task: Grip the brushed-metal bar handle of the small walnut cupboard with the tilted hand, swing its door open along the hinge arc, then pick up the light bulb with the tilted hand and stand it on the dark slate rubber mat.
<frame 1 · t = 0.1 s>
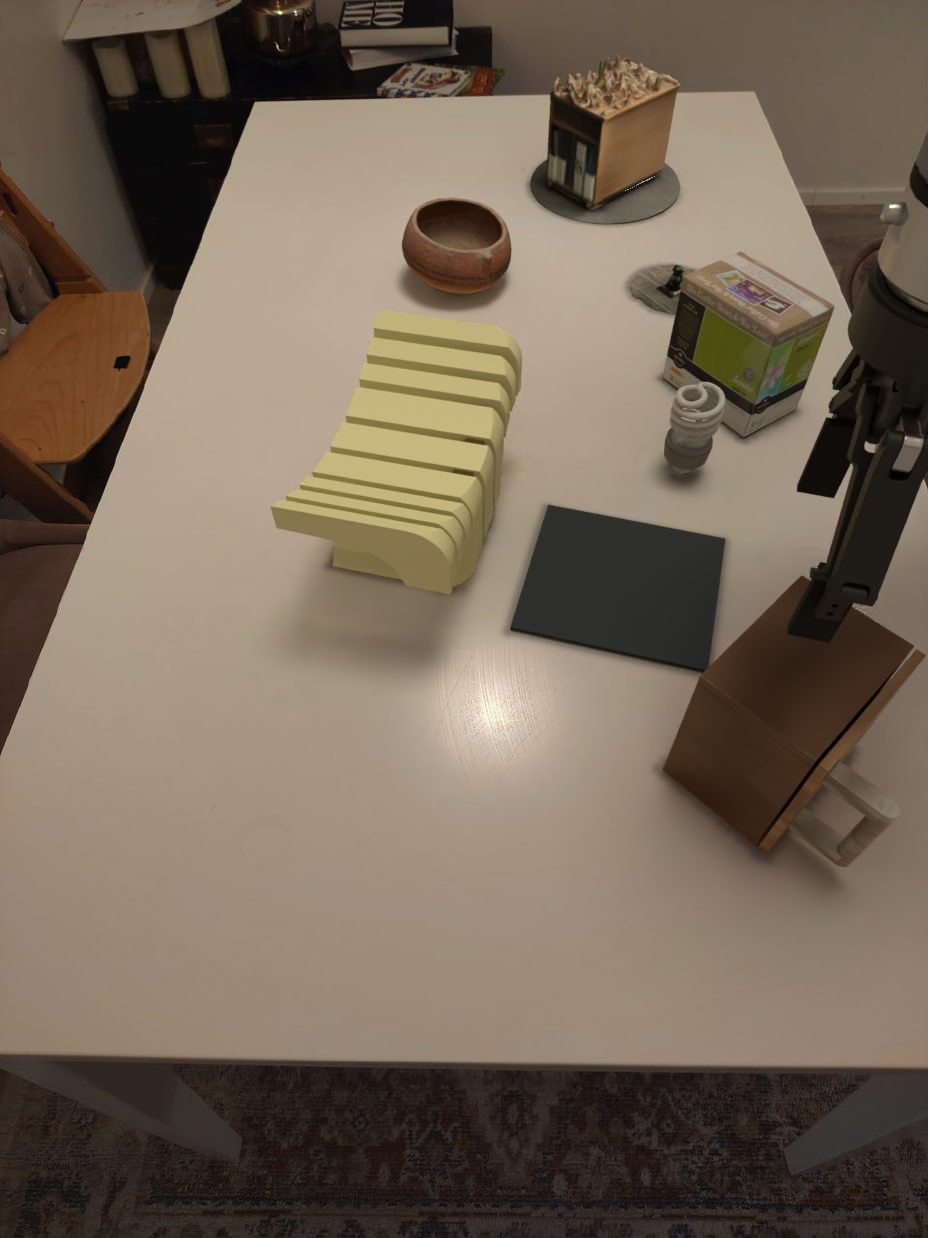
hand: (811, 558, 58), 24 cm above the table, tool pointing down, fingers open, 13 cm apart
light bulb: (680, 472, 98), on the table
sculpture: (671, 290, 121), on the table
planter: (604, 186, 140), on the table
bowl: (457, 282, 123), on the table
cupboard door: (867, 777, 66), point 8 cm above the table, hinge at 0.0°
mat: (621, 584, 88), on the table
cupboard: (752, 756, 76), on the table
slatted curved stool: (419, 536, 93), on the table
tea box: (727, 394, 107), on the table
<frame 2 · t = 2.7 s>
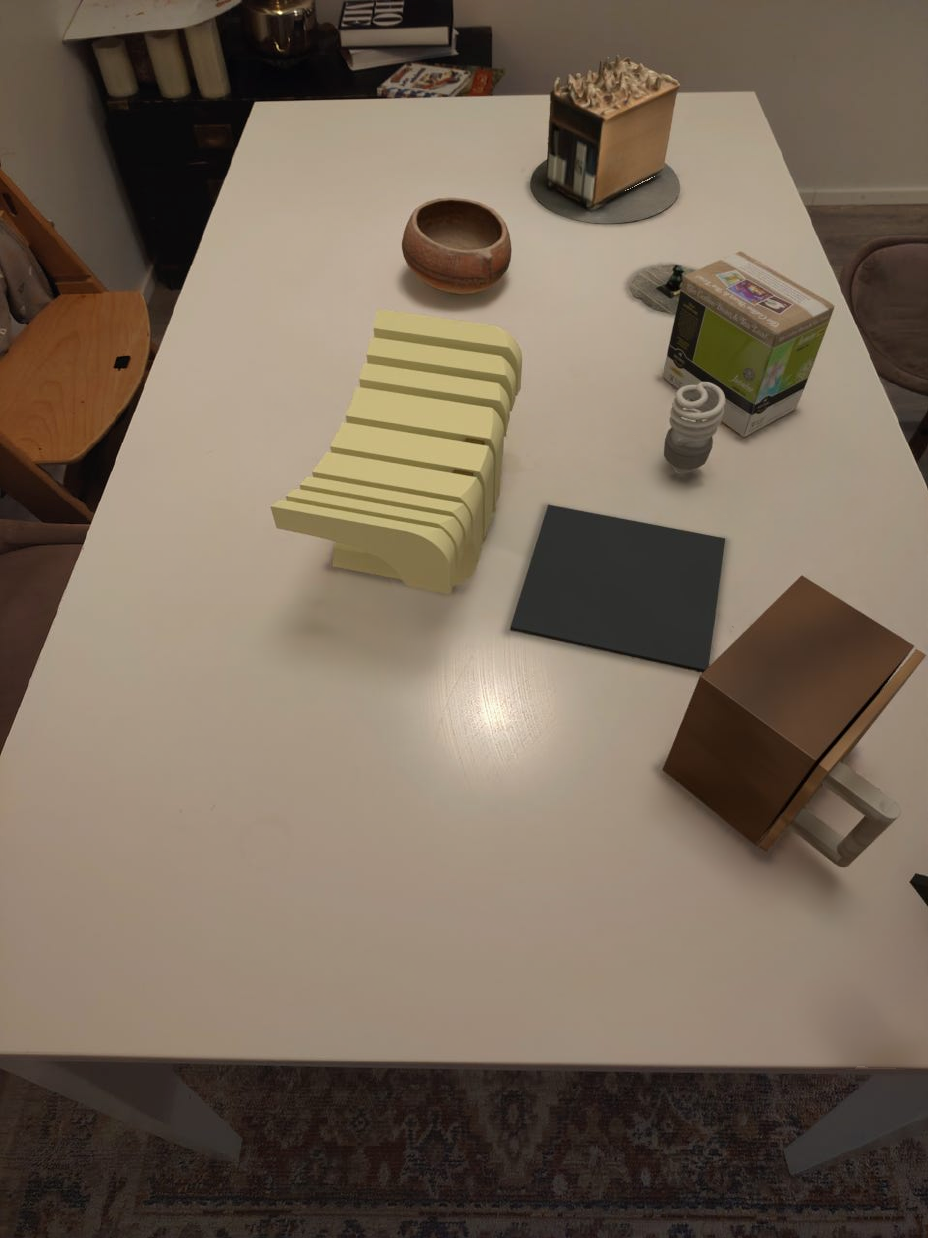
nothing on the table moved.
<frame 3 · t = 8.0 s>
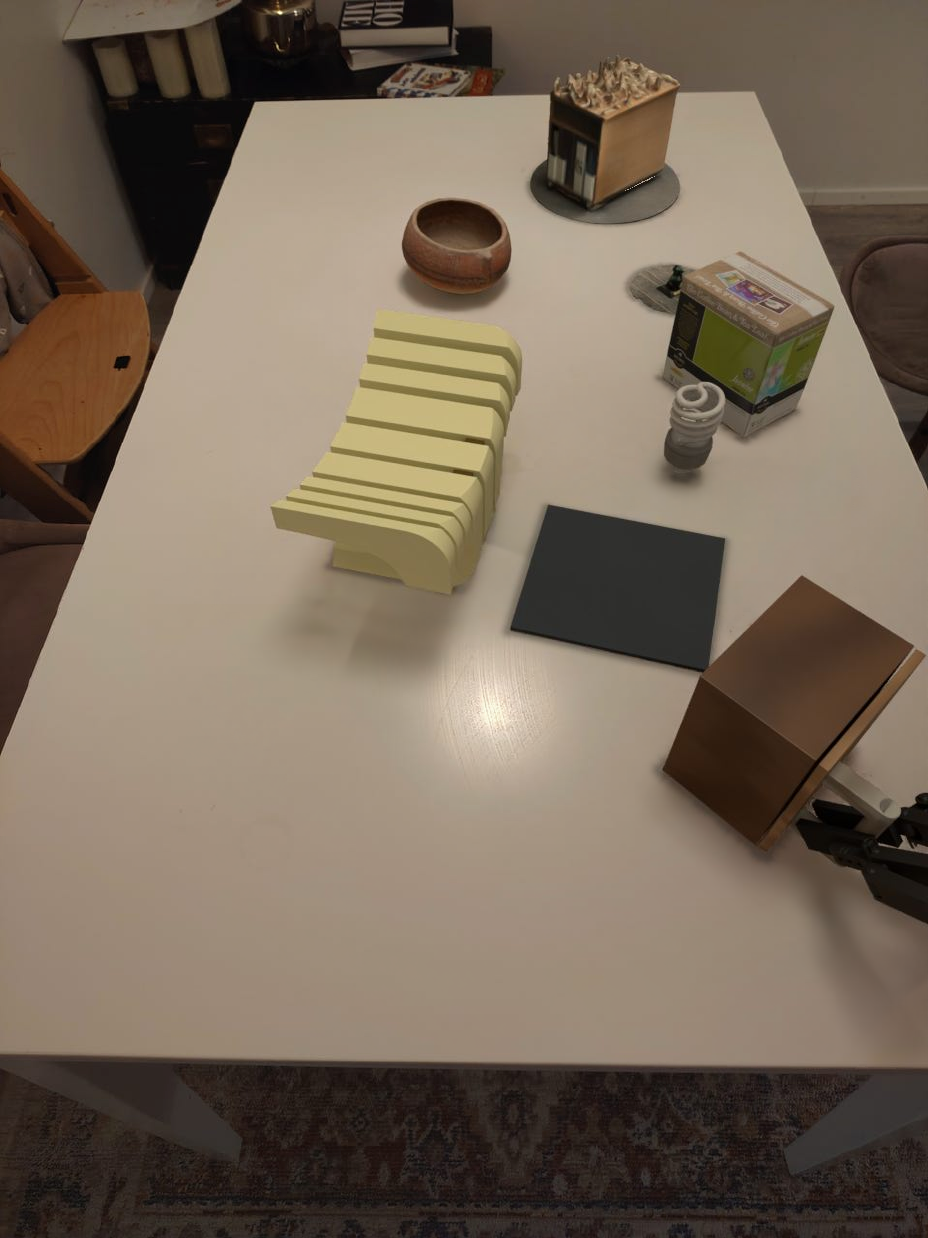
hand: (812, 824, 67), 5 cm above the table, tool tilted 45°, fingers closed on cupboard door, 2 cm apart
cupboard door: (867, 777, 66), point 8 cm above the table, hinge at 0.0°, touching gripper
everything else where it was.
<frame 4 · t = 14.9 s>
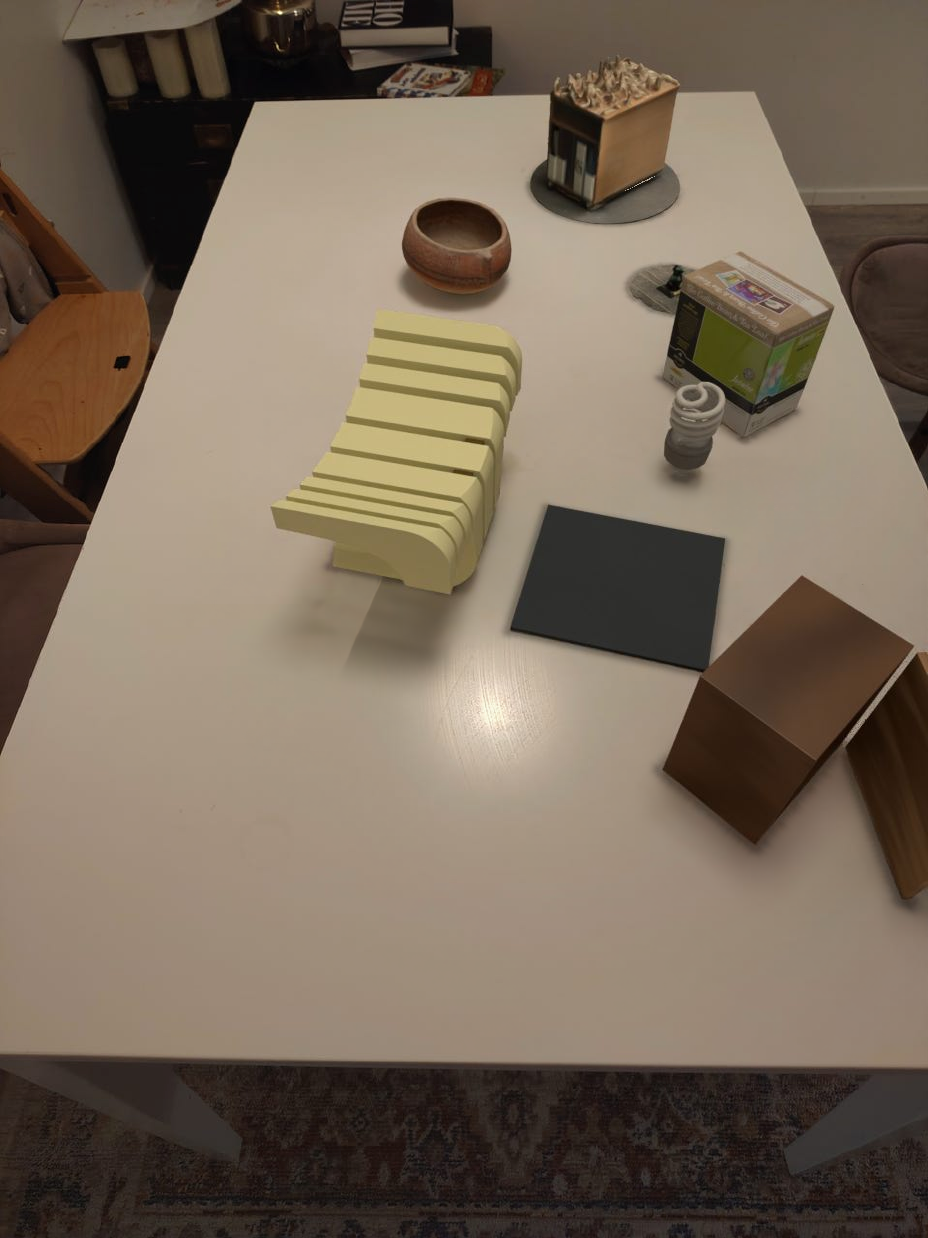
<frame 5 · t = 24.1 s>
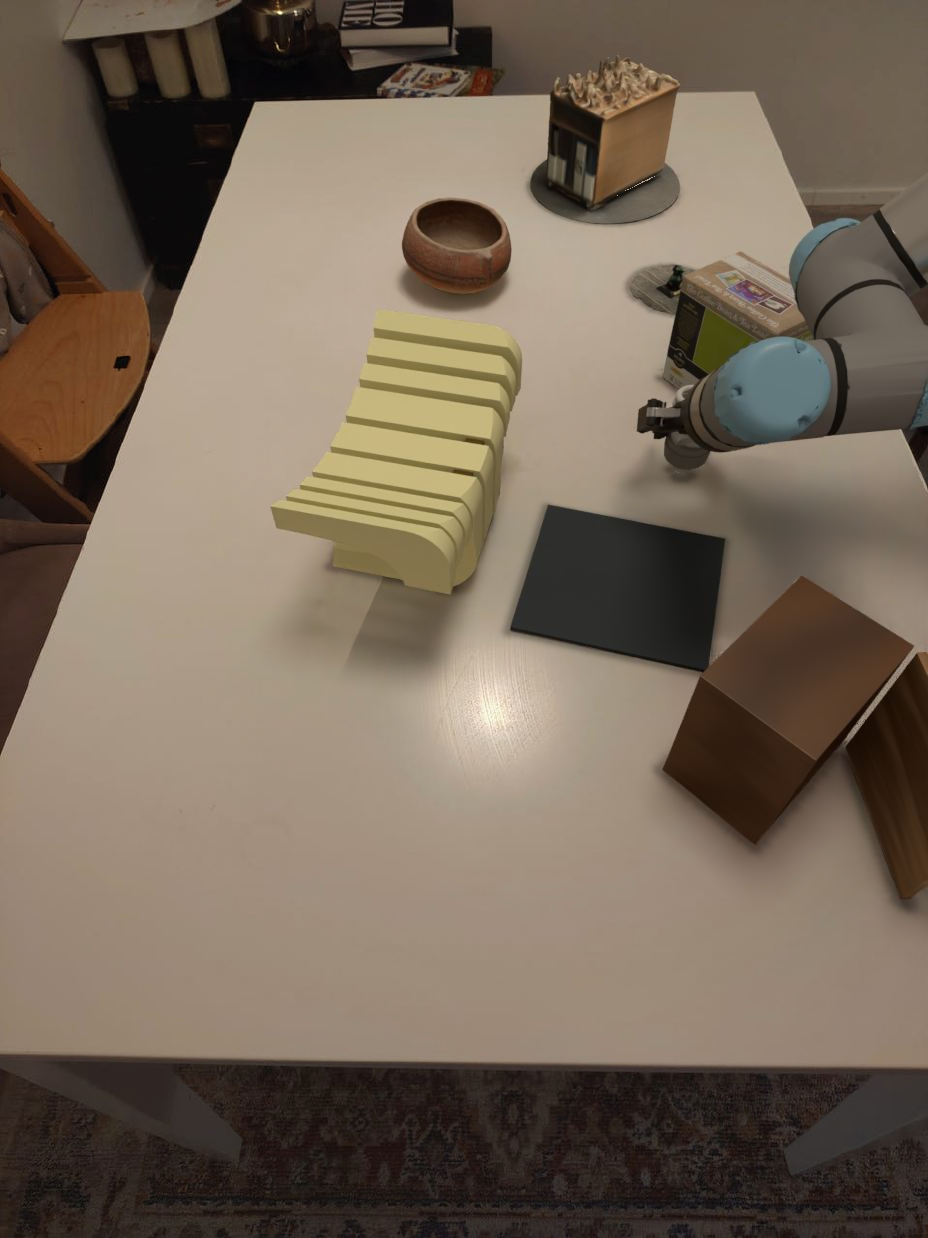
hand: (684, 429, 98), 3 cm above the table, tool tilted 45°, fingers closed on light bulb, 6 cm apart
light bulb: (680, 472, 98), on the table, touching gripper
when the fingers open (4 cm above the table, at t = 31.9 s): light bulb stays where it is, resting on mat.
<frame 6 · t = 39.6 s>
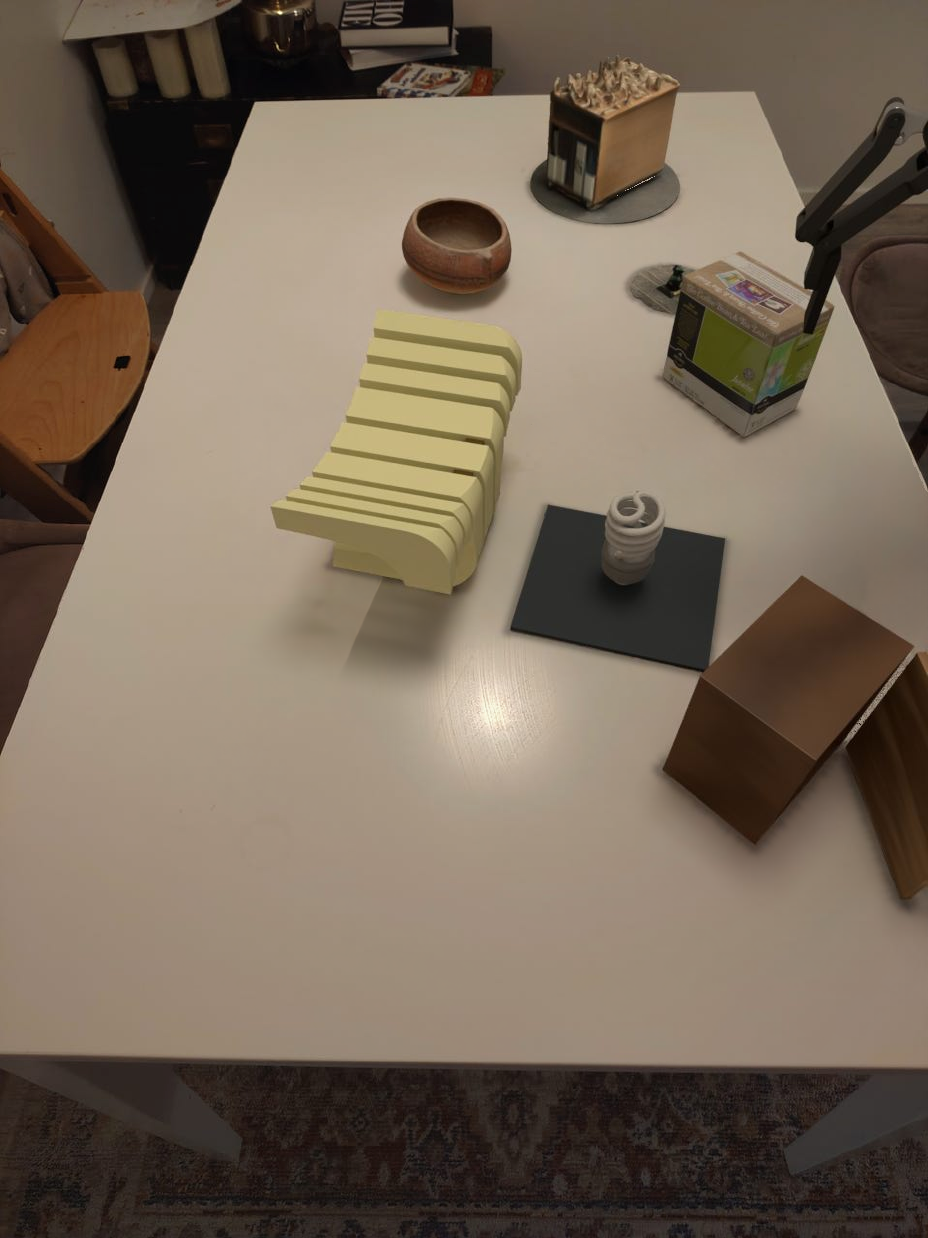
hand: (896, 337, 66), 29 cm above the table, tool pointing down, fingers open, 13 cm apart
light bulb: (621, 582, 88), resting on mat
at the end: cupboard door at +49° (first picture: +0°); light bulb inside the target area on the mat (0.0 cm from its centre), point 0.4 cm above the mat's base; light bulb tilted 0° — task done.
